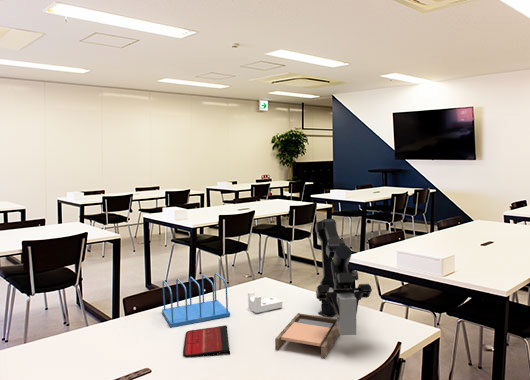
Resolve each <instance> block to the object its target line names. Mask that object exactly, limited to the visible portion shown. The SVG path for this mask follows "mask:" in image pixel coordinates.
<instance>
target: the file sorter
mask: <svg viewBox="0 0 530 380" xmlns="http://www.w3.org/2000/svg"><path fill="white" fill-rule="evenodd" d="M213 276H214V277H213V279H214V280H213V281H212V280H211V279H210V278H209V277H208V276H207V275H206V274H202V276H201V286H202V287H200V284H199V282H197V280H196V279H194V278H193V277H192V276H190V277H189V281H188V283H189V286H188V287H189V288H188V289H189V304H188V293H187V287H186V286H185V284H184V283H183V282H182V281H181V280H180V279H179V278H176V282H175V284H176V285H175V286H176V306H174V305H173V304H174V303H173V293H172V289H171V286H169V285H168V283H167V282H166V280H162V297H163V298H162V299H163V308H162V309H161V313H163V314H162V315H163V317H164V316H165V317H164V318H166V319H165V320H166V322H167V323H169V324H168V325H169V327H170V328H175V327H179V326H184V325H185V326H186V325H190V324H197V323H201V322H206V321H211V320H217V319H220V318H227V317H230V316H231V312H230V311H229V306H228V304H229V303H228V302H229V300H228V285H227V280H226V279H225V278H224V277H222V276H221V275H220V274H218V273H217V272H215V273H214V275H213ZM216 276H217V277H219V278H220V279H221V280H222V281H223V282H224V286H225V305H226V306H224V305H223V304H222V303H221V302H220V301H219V300H218V299H217V284H216V283H217V282H216V280H217V279H216ZM204 279H206V280H208V282H209V283H210V284H211V286H212V300H208V301H205V291H204V288H205V286H204V284H205V283H204ZM191 280H192V281H193V282H194V283H195V284H196V285H197V287H198V299H199V300H198V301H199V302H196V303H192V285H191V284H192V283H191ZM213 282H214V283H213ZM179 283H180V285H181V286H182V287H183V288H184V289H183V290H184V293H185V295H184V296H185V298H184V299H185V304H184V305H180V304H179ZM165 286H166V287H167V288H168V290H169V293H170V307H169V308H166V297H165ZM201 288H202V289H201ZM201 290H202V291H201ZM201 292H202V293H201ZM179 305H180V306H179ZM173 306H174V307H173Z"/></svg>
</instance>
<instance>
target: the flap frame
mask: <svg viewBox="0 0 530 380" xmlns="http://www.w3.org/2000/svg"><path fill="white" fill-rule="evenodd" d="M300 319H306V320H312V321H319V322H326V323H333V328H332V330H331V332H330V333H329V335H328V336H327V337H326V338H325V340H324V341H323V343H322V344H321V346H320V351H321V352H320V357H321V359H326V357H327V355H328V353H329V352H330V350H331V349H332V347H333V345H334V343H335V341H336V340H337V338H338V336H339V335H340V334H339V332H338V330H337V318H336V317H335V318H334V317H329V316H319V315H314V314H313V315H311V314H306V313H305V314H304V313H300V312H298V313H296V315H294V317H293V318H292V319H291V320H290V321H289V322H288V323H287V325H286V326H285V327H284V328H283V329H282V331H281V332H280V333H279V334H278V335H277V336H276V337H275V340H274V342H275V343H274V345H275V346H274V349H275V351H280V350H281V348H282V347H283V345H284V344H285V343H286V342H287V341H286V340H281V337H282V335H283V334H284V333H285V332H286V331H287V330H288V328H289V327H290V326H291V325H292V324H293V323H294V322H298V321H299V320H300Z"/></svg>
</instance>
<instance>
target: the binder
mask: <svg viewBox="0 0 530 380" xmlns="http://www.w3.org/2000/svg"><path fill="white" fill-rule="evenodd" d="M228 332H229V331H228V325H226V324H225V325H220V326H213V327H206V328H205V327H204V328H198V329H191V330H187V331H186V332H185V337H184V342H183V343H184V344H183V349H182V350H183V352H182V353H183V355H182V356H183V357H184V358H199V357H215V356H220V354H222V353H225V352H227V354H228V355H231V351H230V343H229V334H228Z"/></svg>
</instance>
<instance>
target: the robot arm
mask: <svg viewBox="0 0 530 380" xmlns="http://www.w3.org/2000/svg"><path fill="white" fill-rule="evenodd" d="M314 228H315V229H314V230H315V233H316V236H317V238H318V239H317V240H319V242H320V243H321V244H320V245H321V259H322V260H321V262H322V263H321V264H322V274H323V275H322V279H321V280H320V281H319V285H317V287H316V292H315V296H316V299H317V300H318V301H319V302H321V303H320V304H321V306H320V307H321V309H320V311H318V315H322V316H324V317H328V318H334V316H335V315H336V316H337V315H339V308H338V304H337V294H349V293H353V295H354V296H355V298H356V299H357V303H356V315H357V314H358V306H359V302H360V301H361V300H362V299H366V298H369V297H370V295H371V294H372V290H373V288H372V286H371V285H370V284H369V283H359V284H358V286H357V287H353V283H354V281H358V280H359V273H358V270H351V271H349V269H348V265H349V263H350V260H351V257H352V254H353V252H352V251H353V250H352V249H351V247H349V246H348V245H347V244H346V242H345V240H344V239H342V238H340V236H339V233H338V229H337V221H336V220H335V219H333V218H323V219H322V220H320V221H317V222H316V223H315V227H314Z"/></svg>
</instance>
